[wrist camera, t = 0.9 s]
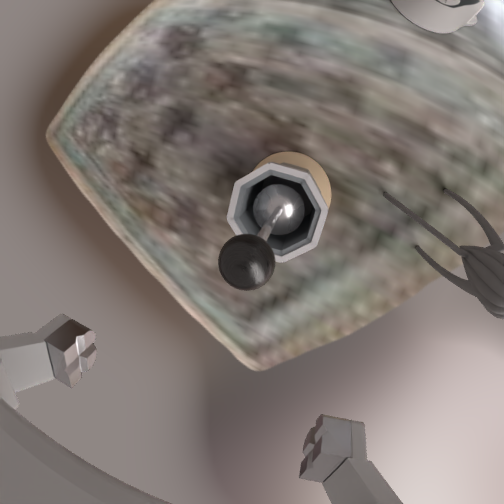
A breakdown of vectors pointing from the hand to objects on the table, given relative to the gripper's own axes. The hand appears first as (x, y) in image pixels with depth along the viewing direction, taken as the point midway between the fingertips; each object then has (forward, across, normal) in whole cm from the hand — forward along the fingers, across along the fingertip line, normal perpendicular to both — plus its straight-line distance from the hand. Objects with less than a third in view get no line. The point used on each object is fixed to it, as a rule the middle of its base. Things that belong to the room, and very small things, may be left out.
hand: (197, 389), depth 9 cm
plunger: (+29, +1, 0) cm, 29 cm away
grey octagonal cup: (+40, +1, 0) cm, 41 cm away
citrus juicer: (+41, -18, -4) cm, 45 cm away
